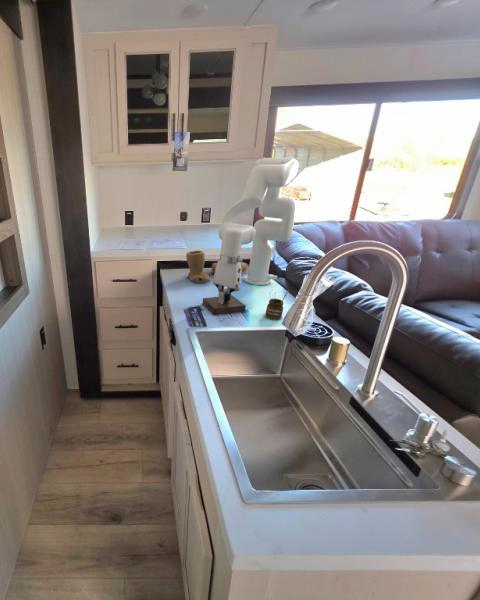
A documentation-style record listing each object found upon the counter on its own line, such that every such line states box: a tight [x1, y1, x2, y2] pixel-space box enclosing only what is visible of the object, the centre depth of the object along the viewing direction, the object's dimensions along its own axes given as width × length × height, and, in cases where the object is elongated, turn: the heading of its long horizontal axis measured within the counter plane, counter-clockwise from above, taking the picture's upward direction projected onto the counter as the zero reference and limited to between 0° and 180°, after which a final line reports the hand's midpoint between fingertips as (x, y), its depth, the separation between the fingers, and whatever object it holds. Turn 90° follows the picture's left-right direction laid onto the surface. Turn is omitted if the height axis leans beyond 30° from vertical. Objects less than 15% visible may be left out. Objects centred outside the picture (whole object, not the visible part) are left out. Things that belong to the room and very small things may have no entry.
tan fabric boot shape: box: [185, 250, 211, 284], centre depth 164 cm, size 15×12×15 cm
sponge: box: [211, 261, 249, 275], centre depth 175 cm, size 13×8×20 cm
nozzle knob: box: [218, 288, 227, 304], centre depth 132 cm, size 6×2×5 cm, turn 134°
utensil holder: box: [265, 289, 289, 321], centre depth 124 cm, size 6×6×12 cm
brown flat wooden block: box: [202, 294, 246, 316], centre depth 133 cm, size 14×11×3 cm
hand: (223, 300), depth 133 cm, fingers closed on nozzle knob, 2 cm apart
